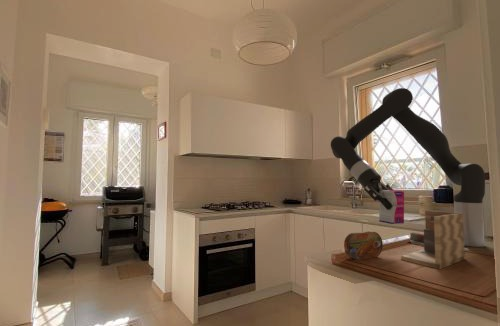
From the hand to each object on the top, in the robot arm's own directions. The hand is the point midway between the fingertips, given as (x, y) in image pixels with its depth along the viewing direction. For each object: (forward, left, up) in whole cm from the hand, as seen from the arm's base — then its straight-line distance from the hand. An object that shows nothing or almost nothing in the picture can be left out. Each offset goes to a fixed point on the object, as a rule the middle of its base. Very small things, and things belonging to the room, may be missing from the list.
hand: (396, 207), depth 94 cm
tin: (+14, -4, -16) cm, 22 cm away
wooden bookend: (-4, +9, -16) cm, 19 cm away
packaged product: (-26, +2, -17) cm, 31 cm away
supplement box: (0, -2, -6) cm, 6 cm away
